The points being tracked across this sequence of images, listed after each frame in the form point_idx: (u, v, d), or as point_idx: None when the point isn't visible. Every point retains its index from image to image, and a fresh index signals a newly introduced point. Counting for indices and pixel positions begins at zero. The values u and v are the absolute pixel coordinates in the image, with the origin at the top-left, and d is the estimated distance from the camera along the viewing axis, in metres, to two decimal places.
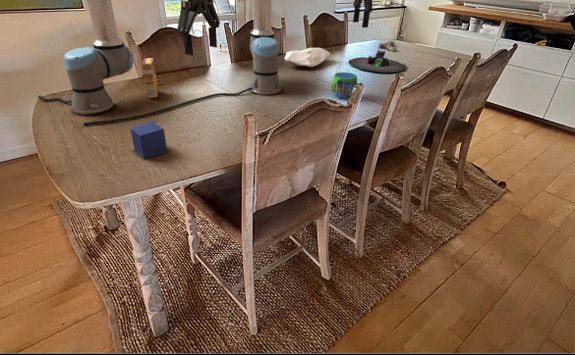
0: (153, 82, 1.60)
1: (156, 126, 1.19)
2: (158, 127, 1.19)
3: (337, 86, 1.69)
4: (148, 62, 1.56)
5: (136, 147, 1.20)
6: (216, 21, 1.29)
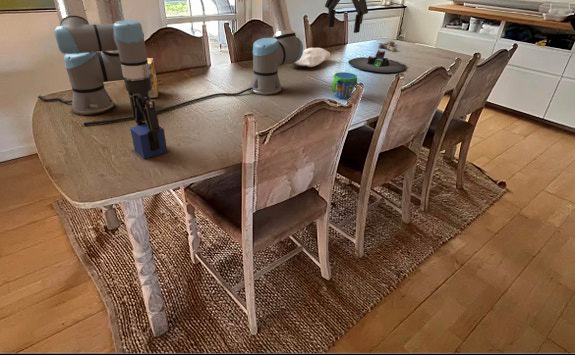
0: (153, 82, 1.60)
1: None
2: None
3: (337, 86, 1.69)
4: (148, 62, 1.56)
5: (136, 147, 1.20)
6: None
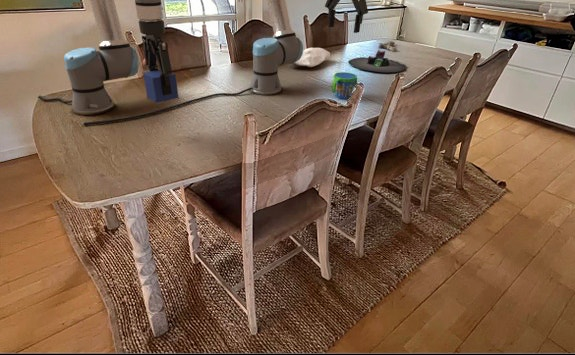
0: None
1: None
2: None
3: (337, 86, 1.69)
4: None
5: (148, 92, 1.24)
6: None
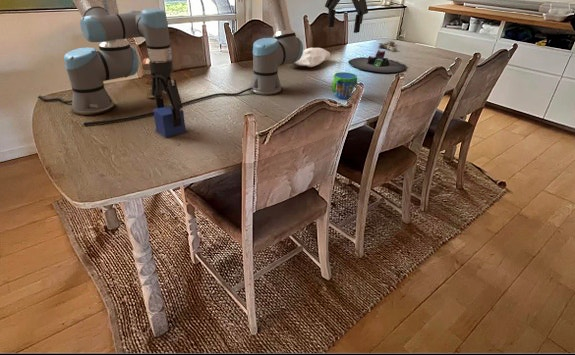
0: None
1: None
2: None
3: (337, 86, 1.69)
4: (148, 62, 1.56)
5: (157, 127, 1.33)
6: None
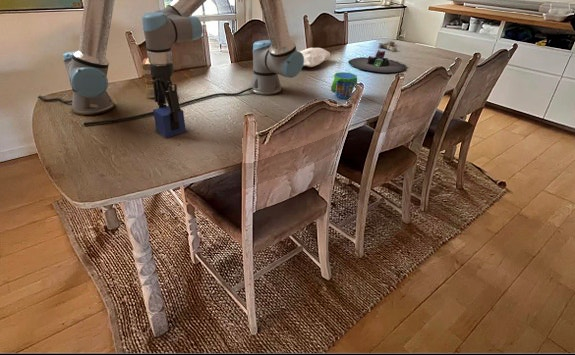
0: None
1: None
2: None
3: (337, 86, 1.69)
4: (148, 62, 1.56)
5: (157, 127, 1.33)
6: None
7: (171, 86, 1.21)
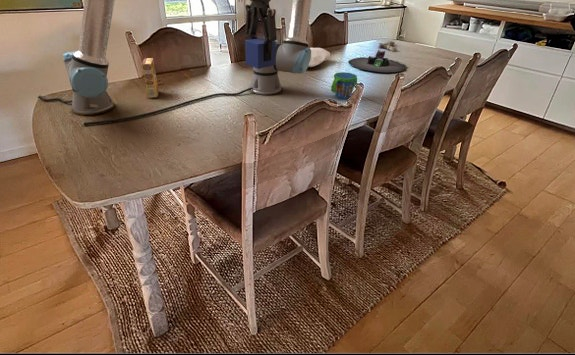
0: (153, 82, 1.60)
1: None
2: None
3: (337, 86, 1.69)
4: (148, 62, 1.56)
5: (248, 59, 1.31)
6: None
7: (271, 10, 1.19)
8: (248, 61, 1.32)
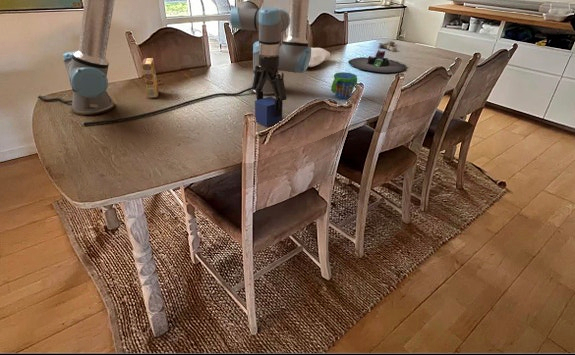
0: (153, 82, 1.60)
1: None
2: None
3: (337, 86, 1.69)
4: (148, 62, 1.56)
5: (257, 117, 1.44)
6: None
7: (279, 74, 1.31)
8: (257, 119, 1.45)
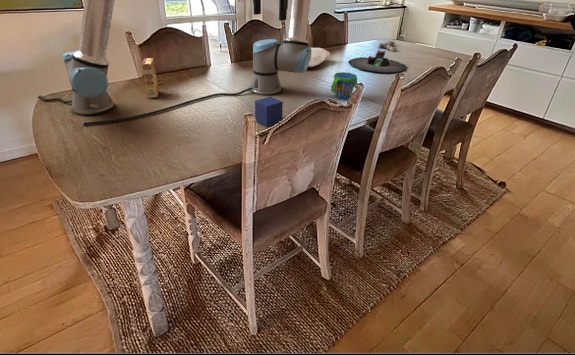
0: (153, 82, 1.60)
1: (275, 100, 1.44)
2: (277, 100, 1.43)
3: (337, 86, 1.69)
4: (148, 62, 1.56)
5: (257, 117, 1.44)
6: None
7: None
8: (257, 119, 1.45)
